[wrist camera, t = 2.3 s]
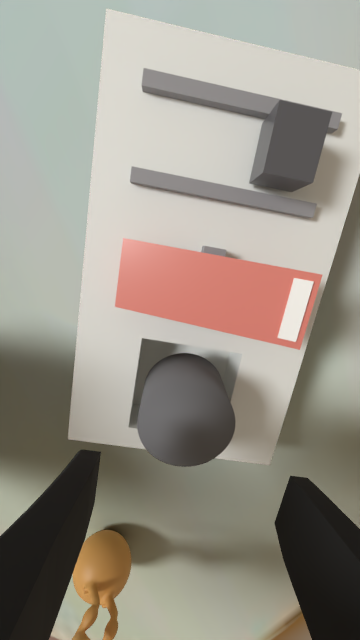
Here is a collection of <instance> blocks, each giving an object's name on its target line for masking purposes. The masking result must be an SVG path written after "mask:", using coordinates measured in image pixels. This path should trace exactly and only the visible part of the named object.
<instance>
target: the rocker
mask: <svg viewBox="0 0 360 640" xmlns="http://www.w3.org/2000/svg"><path fill="white" fill-rule="evenodd" d="M321 278H322V275H321V274H317V273H311V272H306V271H300V270H295V269H290V268H284V267H279V266H273V265H268V264H263V263H257V262H252V261H246V260H241V259H235V258H230V257H225V256H219V255H214V254H208V253H203V252H197V251H192V250H187V249H181V248H176V247H170V246H165V245H159V244H154V243H149V242H143V241H138V240H132V239H126V238H123V243H122V251H121V260H120V268H119V276H118V284H117V292H116V301H115V307H118V308H122V309H127V310H131V311H135V312H139V313H144V314H148V315H152V316H157V317H161V318H165V319H169V320H174V321H178V322H182V323H187V324H191V325H195V326H199V327H204V328H208V329H212V330H217V331H221V332H225V333H229V334H234V335H238V336H242V337H247V338H251V339H255V340H260V341H264V342H268V343H272V344H277V345H281V346H285V347H290V348H294V349H298V350H300V348H301V345H302V341H303V338H304V335H305V331H306V328H307V325H308V322H309V318H310V315H311V312H312V308H313V305H314V302H315V298H316V295H317V292H318V288H319V285H320V282H321Z"/></svg>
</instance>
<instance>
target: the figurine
mask: <svg viewBox="0 0 360 640" xmlns="http://www.w3.org/2000/svg"><path fill="white" fill-rule="evenodd" d="M130 570H131V552H130V549H129V546H128V544H127V542H126V540H125V539H124V538H123V536H121V535H120V534H119V533H117V532H115V531H112V530H102V531H99V532H96V533H94V534H93V535H91V536H90V537H89V538H88V539H87V540H86V541H85V542H84V543H83V546H82V548H81V551H80V554H79V557H78V560H77V562H76V565H75V568H74V571H73V582H74V586H75V589H76V591H77V593H78V595H79V596H80V597H81V598H82V599H83V600H84V601H85V602H87V603H89V604H92V606H91V607H90V608H89V609H88V610H87V611H86V612H85V614H84V616H83V619H82V622H81V624H80V626H79V628H78V630H77V632H76V634H75V635H74V637H73V638H72V640H90V639H89V638H88V637H87V635H86V634H85V631H86V630H87V629H88V628H89V627H91V626H92V624H93V623H94V622H95V620H96V618H97V615H98V608H99V605H102V607H103V608H106V607H107V609H108V611H109V613H110V616H111V619H110V621H109V622H108V624H107V626H106V628H105V633H104V637H103V640H113V638H114V637H115V635H116V633H117V630H118V622H117V615H118V611H117V608H116V605H115V602H114V598H115V597H116V596H117V595H118V594H119V593H120V592H121V591H122V589H123V588H124V586H125V584H126V582H127V580H128V577H129V574H130Z"/></svg>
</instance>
